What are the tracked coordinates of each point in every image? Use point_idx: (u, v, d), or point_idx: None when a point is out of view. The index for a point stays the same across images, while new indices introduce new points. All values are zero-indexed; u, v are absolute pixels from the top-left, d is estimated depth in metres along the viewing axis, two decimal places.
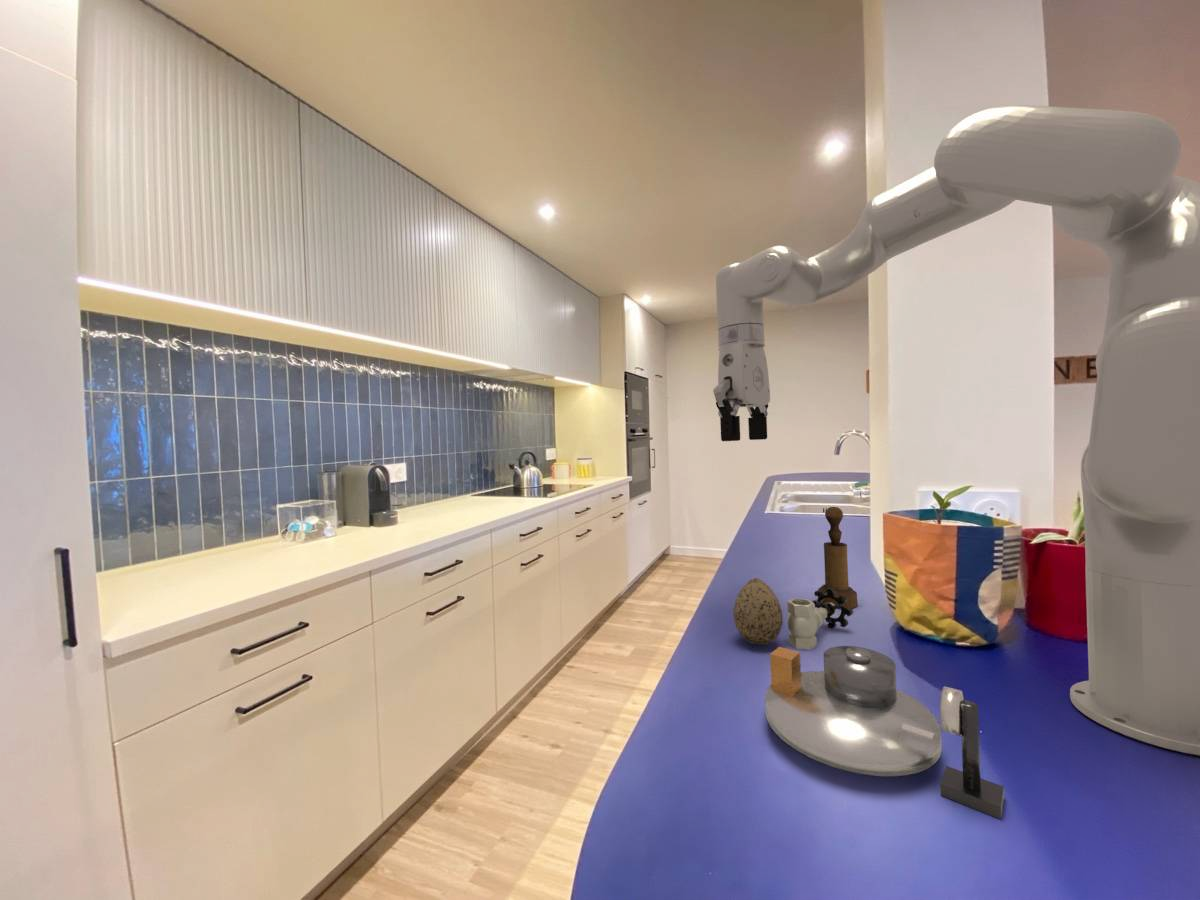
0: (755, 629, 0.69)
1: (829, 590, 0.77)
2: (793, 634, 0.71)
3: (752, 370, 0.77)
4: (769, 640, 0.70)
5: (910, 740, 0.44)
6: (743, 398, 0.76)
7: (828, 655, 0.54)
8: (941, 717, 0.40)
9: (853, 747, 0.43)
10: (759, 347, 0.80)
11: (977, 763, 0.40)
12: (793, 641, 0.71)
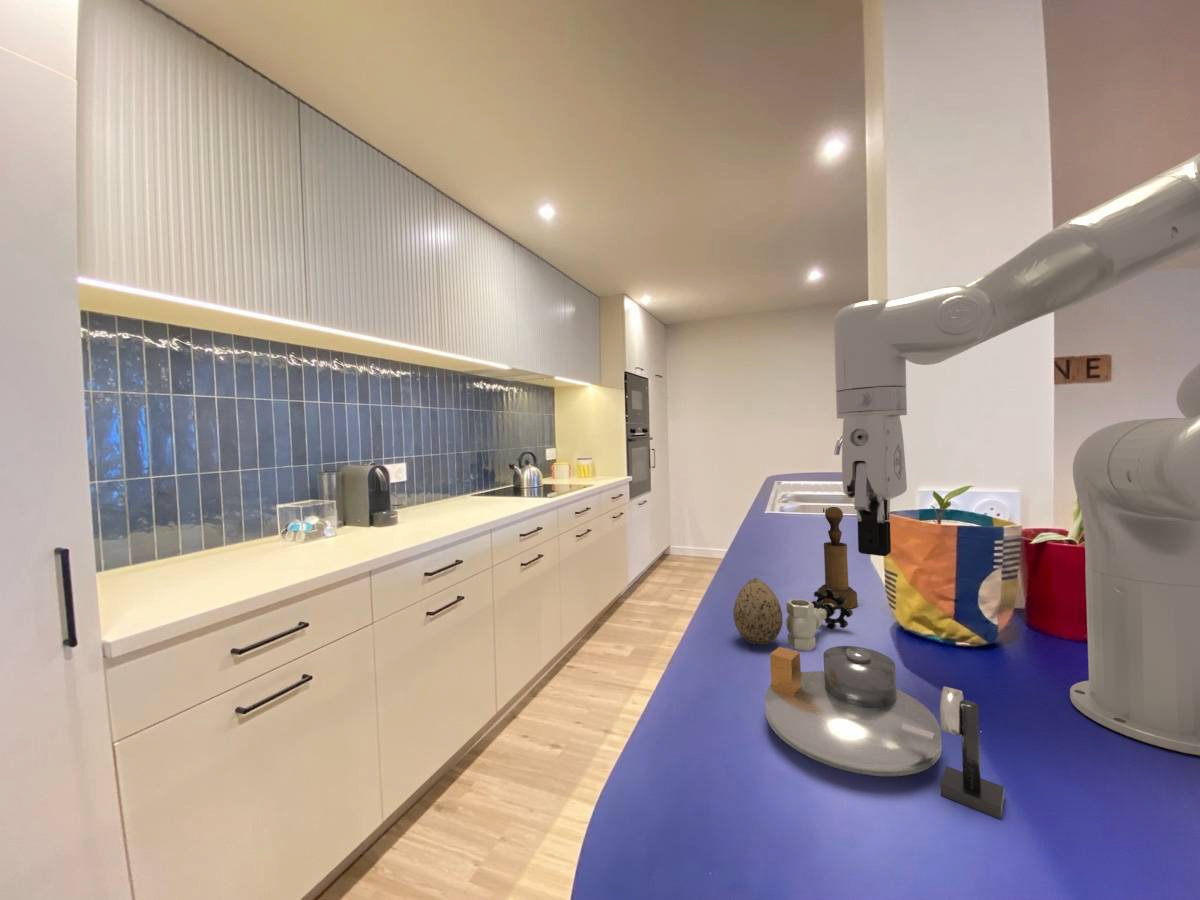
0: (755, 629, 0.69)
1: (829, 591, 0.77)
2: (792, 635, 0.71)
3: (893, 452, 0.55)
4: (769, 640, 0.70)
5: (910, 740, 0.44)
6: (885, 493, 0.53)
7: (828, 655, 0.54)
8: (941, 717, 0.40)
9: (853, 747, 0.43)
10: (897, 416, 0.57)
11: (977, 763, 0.40)
12: (792, 642, 0.71)
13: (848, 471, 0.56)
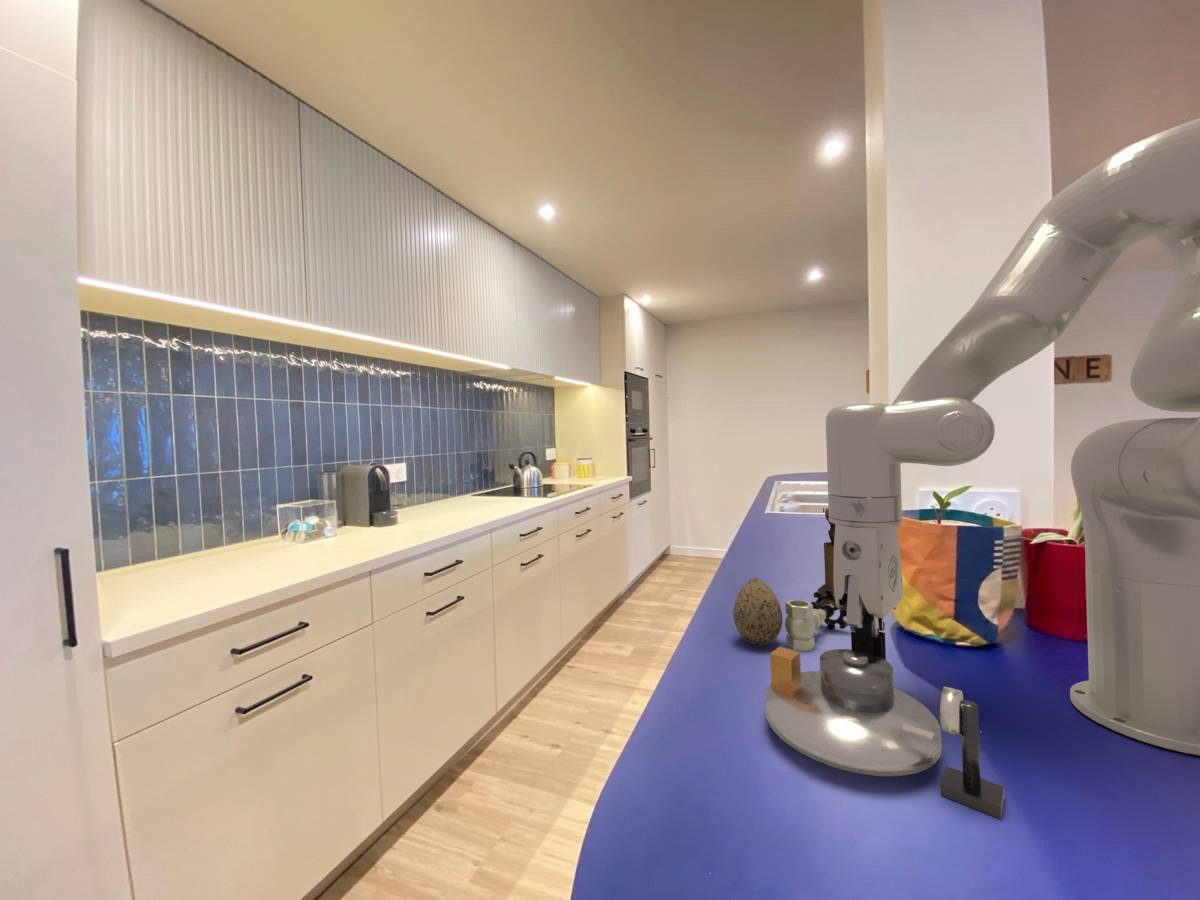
0: (755, 629, 0.69)
1: (828, 591, 0.76)
2: (791, 635, 0.70)
3: (887, 565, 0.52)
4: (769, 640, 0.70)
5: (910, 740, 0.44)
6: (878, 613, 0.51)
7: (825, 659, 0.53)
8: (941, 717, 0.40)
9: (853, 747, 0.43)
10: None
11: (977, 763, 0.40)
12: (791, 643, 0.70)
13: (840, 584, 0.53)
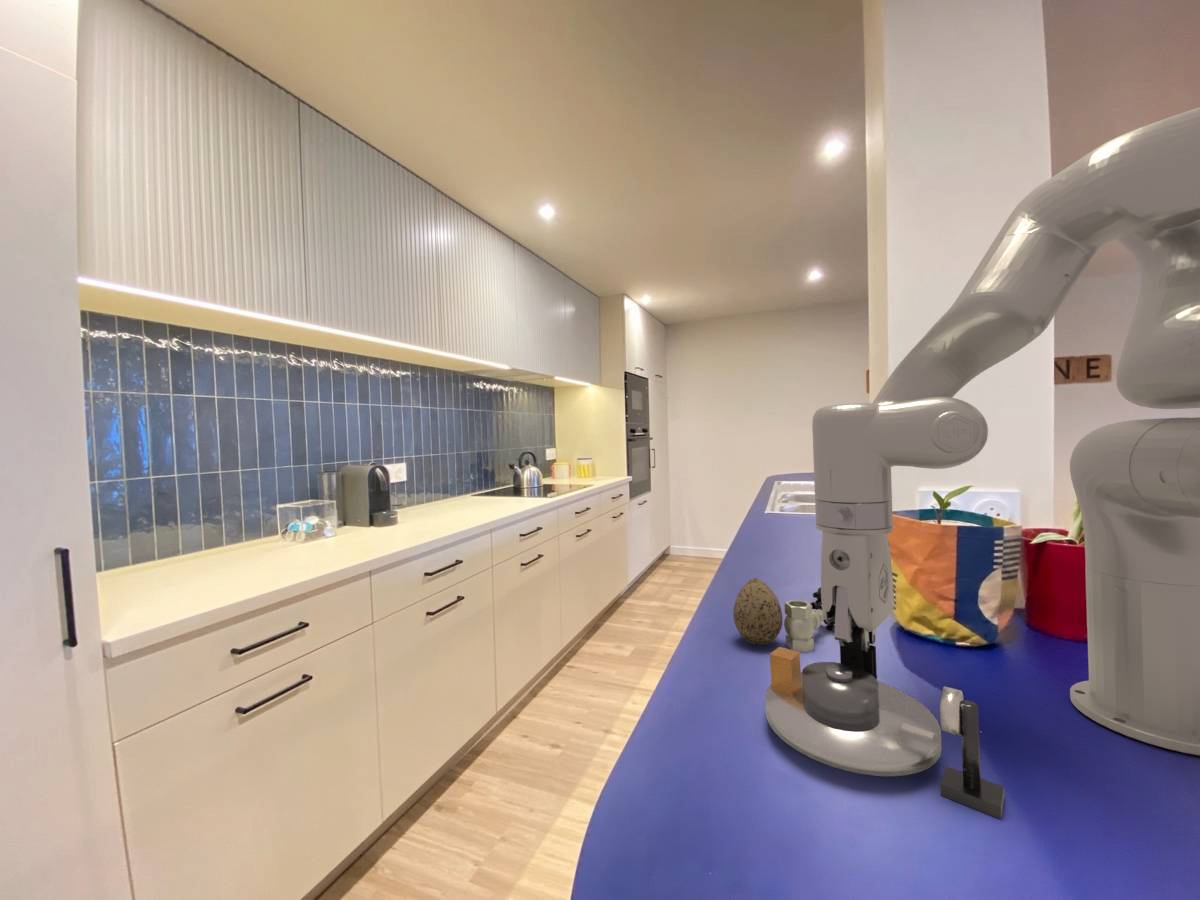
0: (755, 629, 0.69)
1: None
2: (790, 636, 0.70)
3: (878, 575, 0.49)
4: (769, 640, 0.70)
5: (910, 740, 0.44)
6: (868, 627, 0.47)
7: (808, 672, 0.50)
8: (941, 717, 0.40)
9: (853, 747, 0.43)
10: None
11: (977, 763, 0.40)
12: (790, 643, 0.70)
13: (827, 596, 0.50)
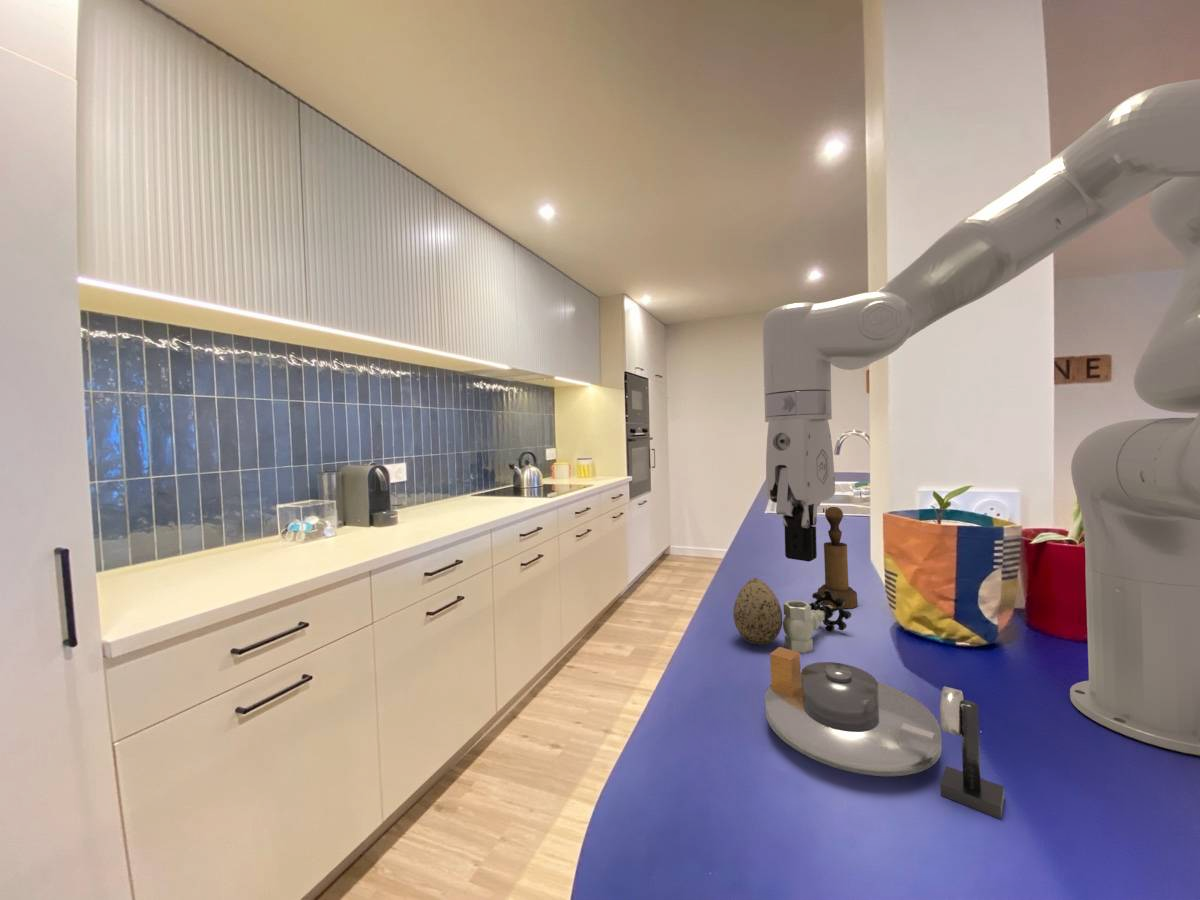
0: (755, 629, 0.69)
1: (827, 592, 0.76)
2: (789, 637, 0.70)
3: (816, 456, 0.55)
4: (769, 640, 0.70)
5: (910, 740, 0.44)
6: (804, 498, 0.53)
7: (807, 672, 0.50)
8: (941, 717, 0.40)
9: (853, 747, 0.43)
10: (823, 421, 0.57)
11: (977, 763, 0.40)
12: (789, 644, 0.70)
13: (771, 475, 0.55)
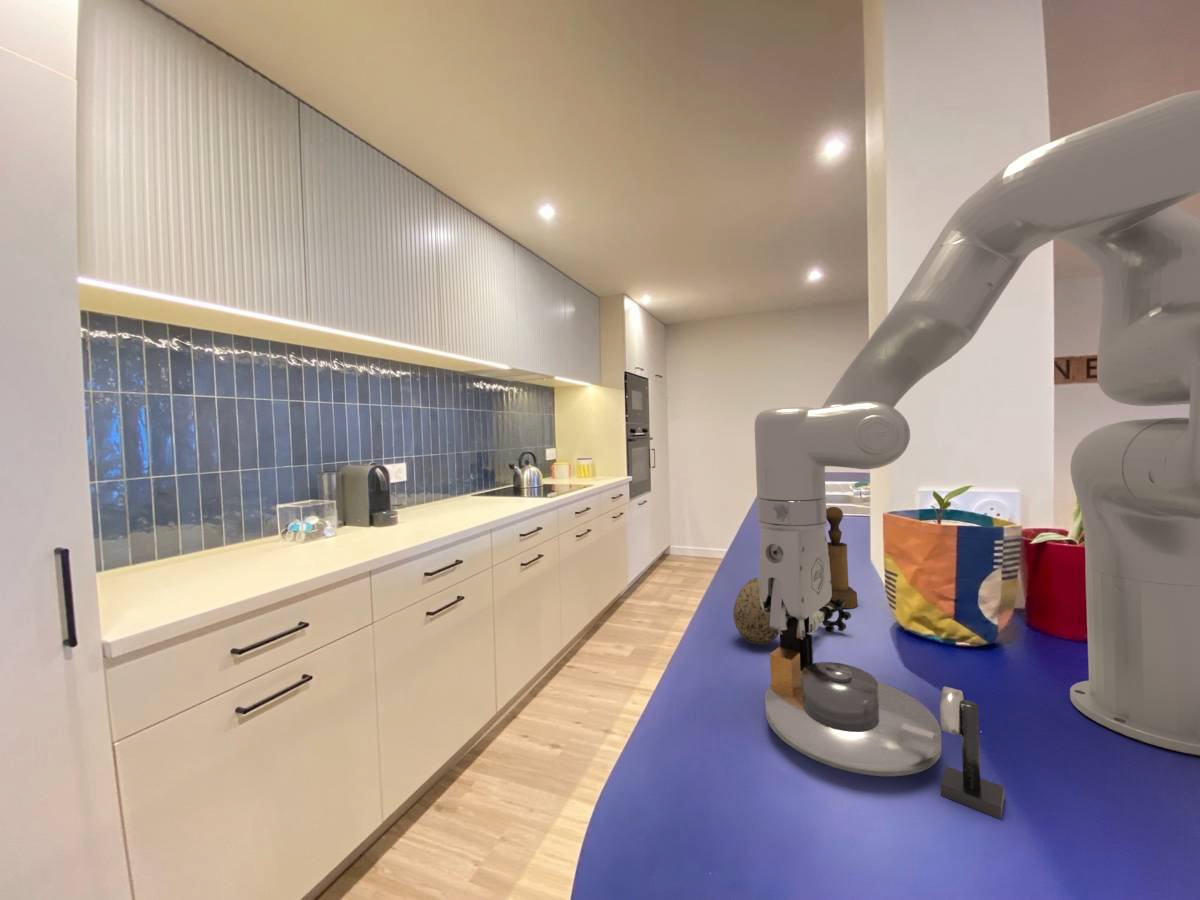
0: (755, 629, 0.69)
1: None
2: None
3: (810, 568, 0.53)
4: (769, 640, 0.70)
5: (910, 740, 0.44)
6: (798, 616, 0.51)
7: (807, 672, 0.50)
8: (941, 717, 0.40)
9: (853, 747, 0.43)
10: None
11: (977, 763, 0.40)
12: None
13: (764, 587, 0.53)
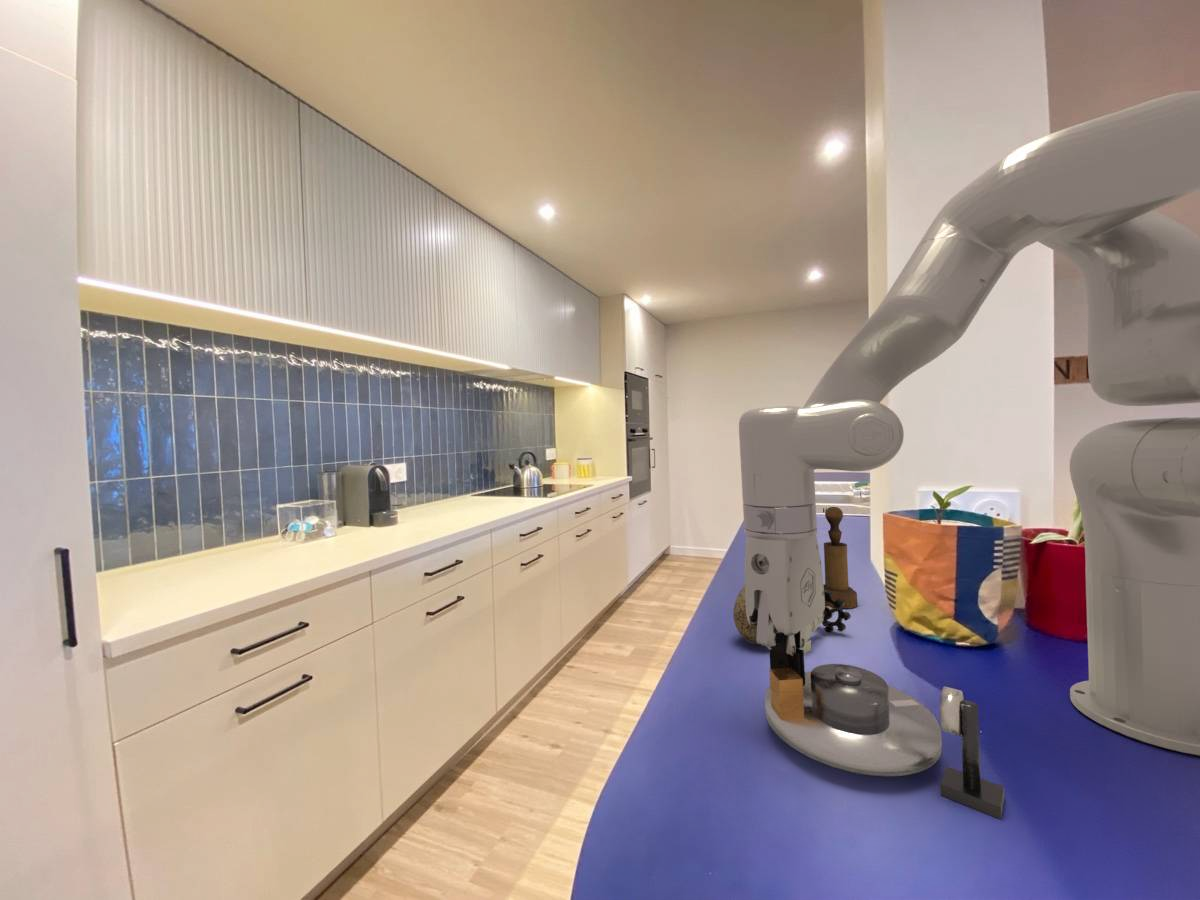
0: (755, 629, 0.69)
1: (826, 593, 0.76)
2: None
3: (799, 579, 0.49)
4: None
5: (915, 714, 0.48)
6: (786, 631, 0.47)
7: (825, 685, 0.47)
8: (941, 717, 0.40)
9: (912, 744, 0.43)
10: None
11: (977, 763, 0.40)
12: None
13: (750, 600, 0.50)
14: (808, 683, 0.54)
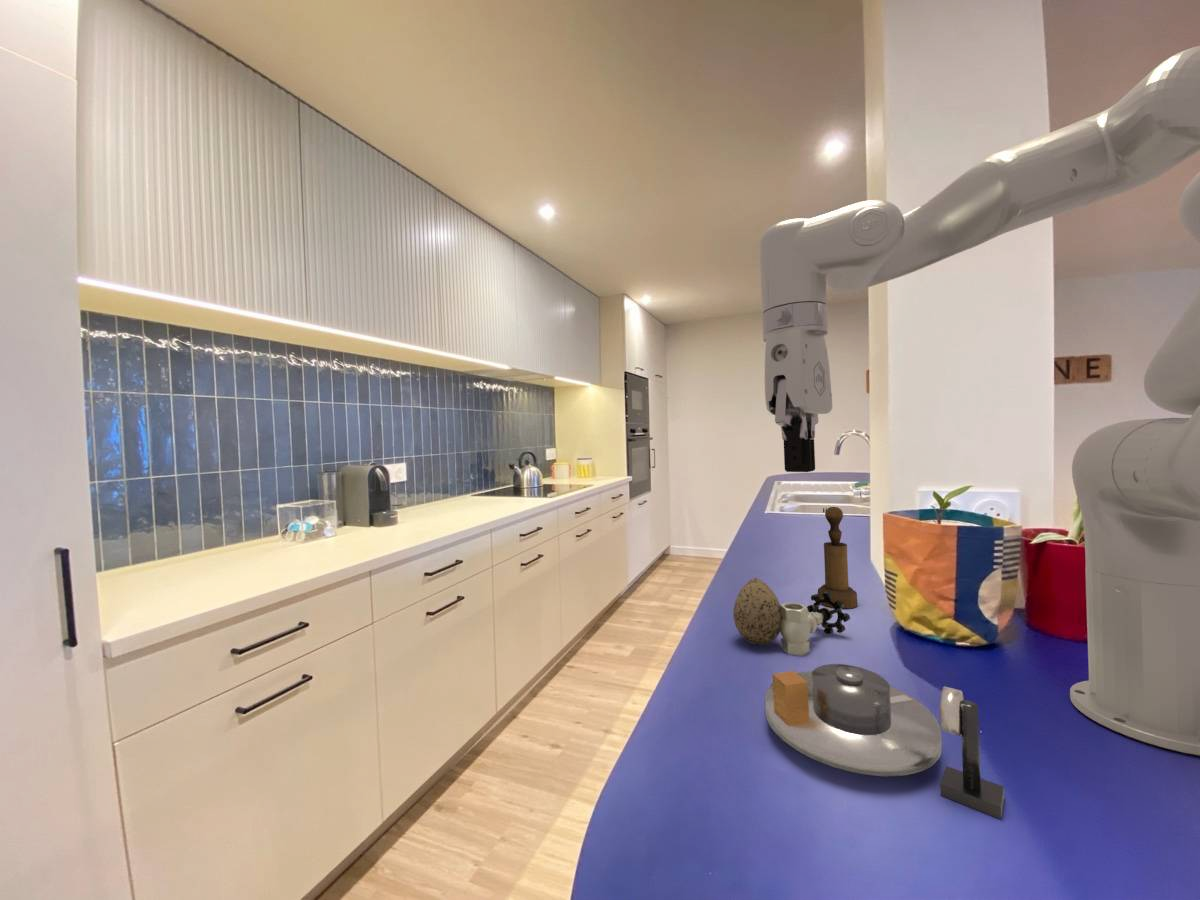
0: (755, 629, 0.69)
1: (825, 594, 0.75)
2: (785, 639, 0.69)
3: (813, 366, 0.56)
4: (769, 640, 0.70)
5: (911, 709, 0.48)
6: (802, 405, 0.54)
7: (829, 687, 0.47)
8: (941, 717, 0.40)
9: (917, 741, 0.44)
10: (820, 335, 0.59)
11: (977, 763, 0.40)
12: (785, 647, 0.69)
13: (769, 387, 0.57)
14: None
